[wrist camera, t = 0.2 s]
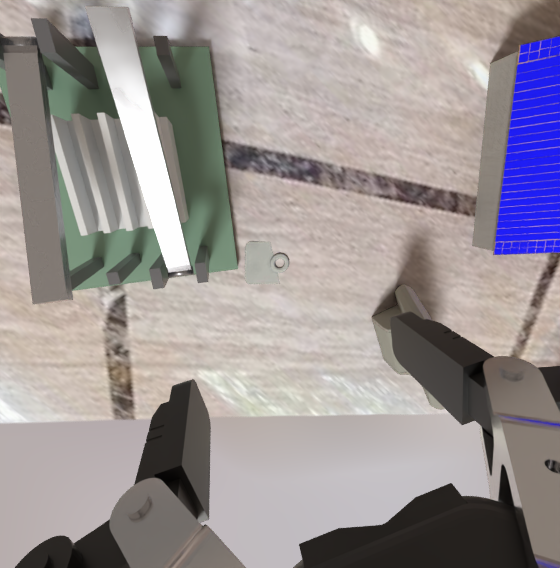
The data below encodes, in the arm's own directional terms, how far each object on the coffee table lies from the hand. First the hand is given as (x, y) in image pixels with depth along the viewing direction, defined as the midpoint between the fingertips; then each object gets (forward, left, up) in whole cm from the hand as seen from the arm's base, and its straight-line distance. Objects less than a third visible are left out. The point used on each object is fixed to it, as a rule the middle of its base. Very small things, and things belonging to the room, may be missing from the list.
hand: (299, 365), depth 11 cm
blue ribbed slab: (-7, +44, -29) cm, 54 cm away
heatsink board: (-8, -11, -29) cm, 32 cm away
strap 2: (-8, -7, -17) cm, 20 cm away
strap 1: (-9, -15, -17) cm, 24 cm away
